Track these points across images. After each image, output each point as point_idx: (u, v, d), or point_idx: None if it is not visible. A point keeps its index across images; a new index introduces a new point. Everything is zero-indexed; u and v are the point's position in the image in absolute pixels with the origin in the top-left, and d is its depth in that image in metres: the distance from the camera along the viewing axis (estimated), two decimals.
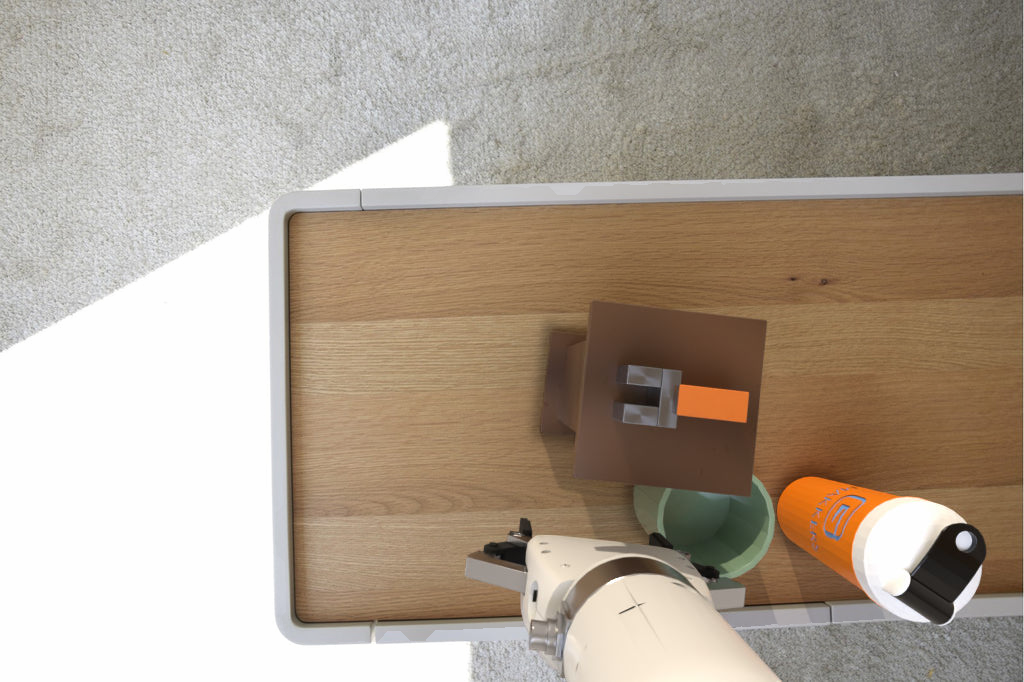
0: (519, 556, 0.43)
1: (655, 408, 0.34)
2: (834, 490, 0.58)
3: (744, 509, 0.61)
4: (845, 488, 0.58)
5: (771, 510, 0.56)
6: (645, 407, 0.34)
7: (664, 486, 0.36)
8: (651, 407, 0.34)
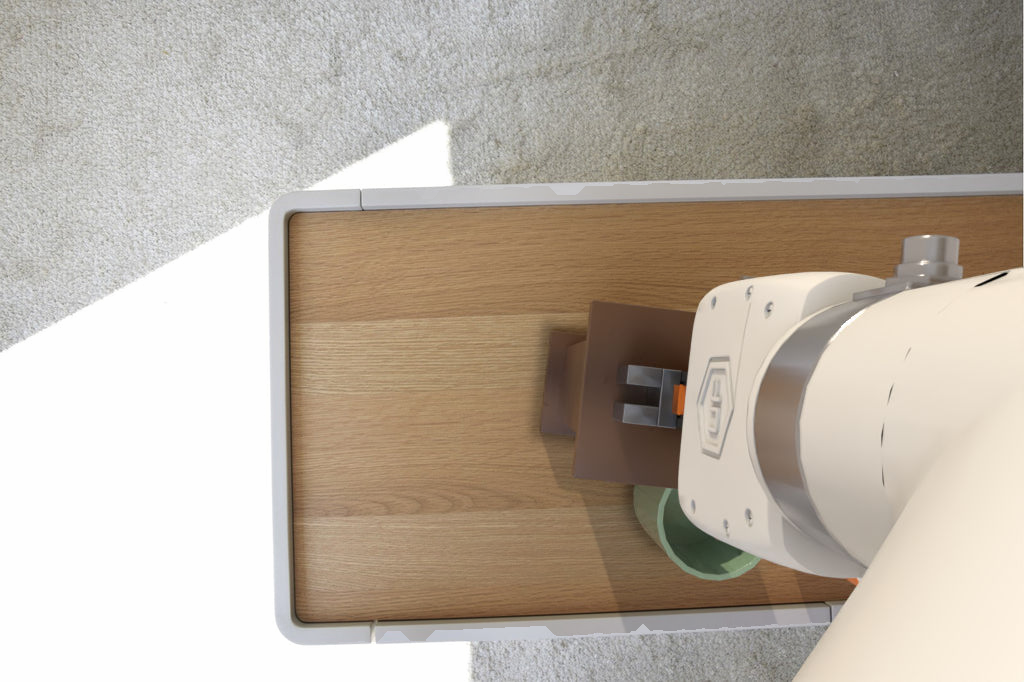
0: None
1: (655, 408, 0.34)
2: None
3: None
4: None
5: None
6: (645, 407, 0.34)
7: (664, 486, 0.36)
8: (651, 407, 0.34)
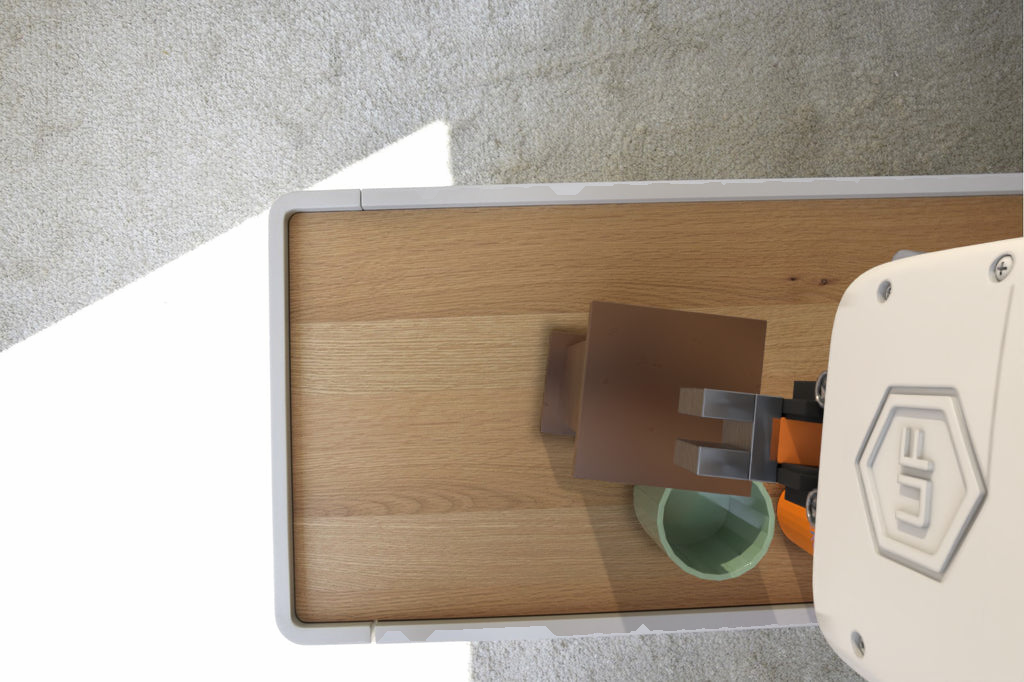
0: None
1: (745, 453, 0.23)
2: None
3: (744, 509, 0.61)
4: None
5: (771, 510, 0.56)
6: (730, 452, 0.23)
7: (664, 486, 0.36)
8: (739, 451, 0.23)
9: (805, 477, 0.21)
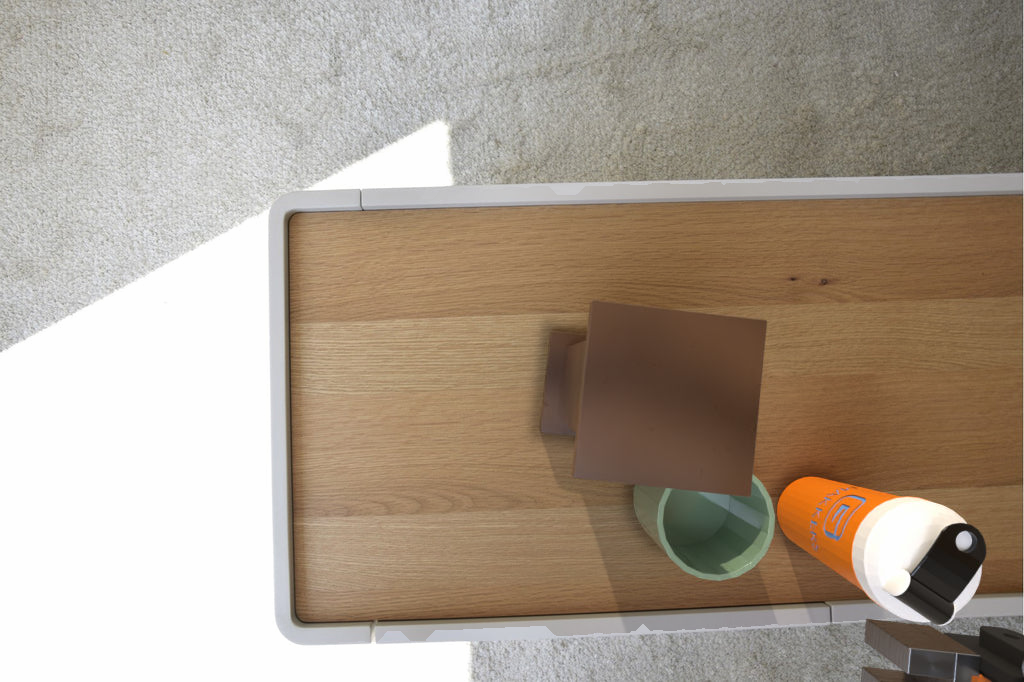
0: None
1: None
2: (834, 490, 0.58)
3: (744, 509, 0.61)
4: (845, 488, 0.58)
5: (771, 510, 0.56)
6: None
7: (664, 486, 0.36)
8: None
9: None
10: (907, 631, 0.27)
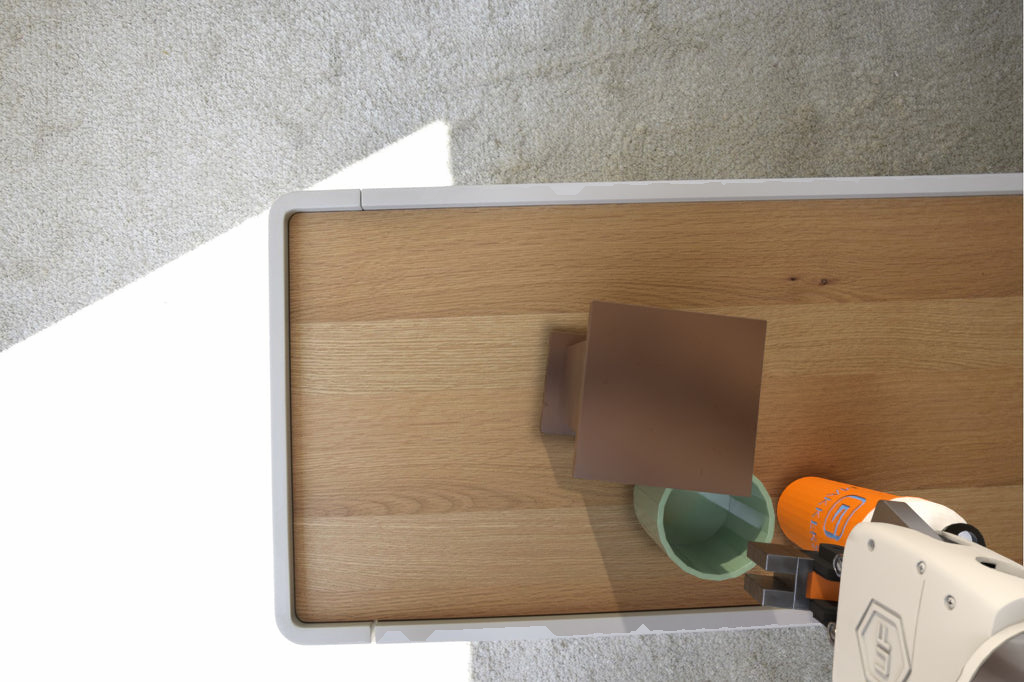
0: None
1: (791, 593, 0.38)
2: (834, 490, 0.58)
3: (744, 509, 0.61)
4: (845, 488, 0.58)
5: (771, 510, 0.56)
6: (782, 592, 0.38)
7: (664, 486, 0.36)
8: (787, 592, 0.38)
9: (827, 613, 0.36)
10: (772, 547, 0.40)
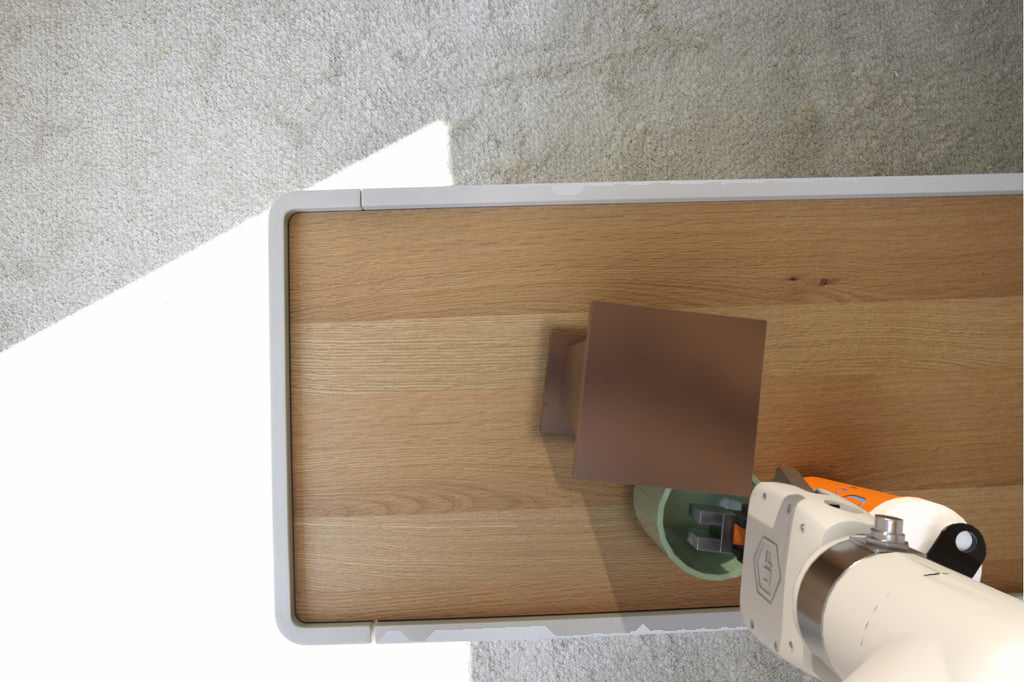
0: None
1: (718, 540, 0.50)
2: (834, 490, 0.58)
3: None
4: (845, 488, 0.58)
5: None
6: (711, 539, 0.50)
7: (664, 486, 0.36)
8: (715, 539, 0.50)
9: (743, 553, 0.49)
10: (706, 507, 0.52)
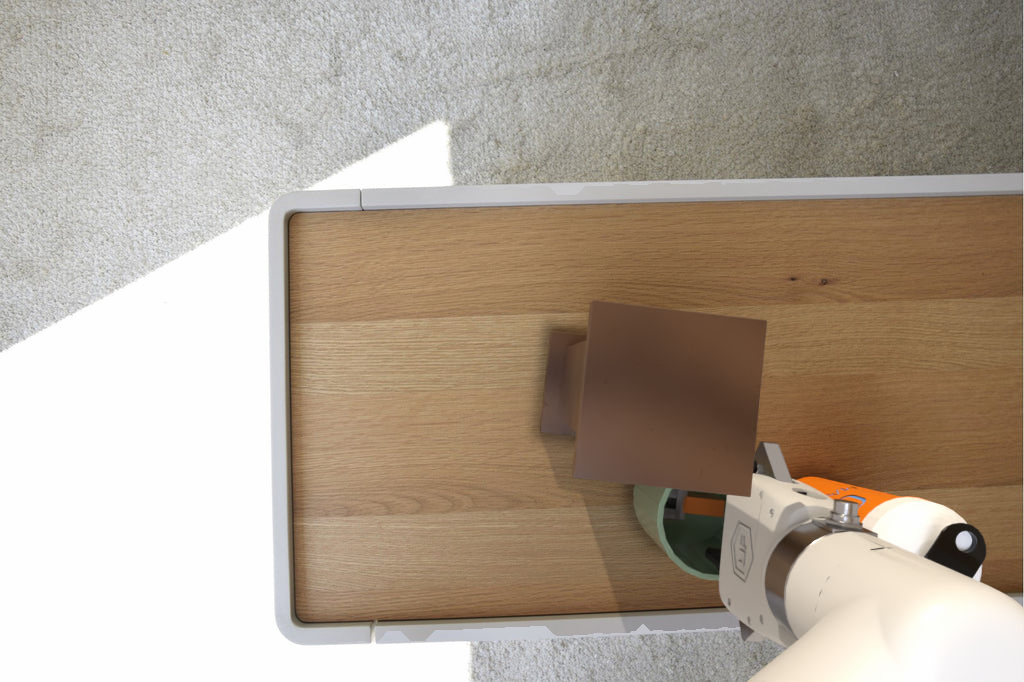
0: None
1: (673, 509, 0.62)
2: (834, 490, 0.58)
3: None
4: (845, 488, 0.58)
5: None
6: (668, 509, 0.62)
7: (664, 486, 0.36)
8: (671, 509, 0.62)
9: None
10: None
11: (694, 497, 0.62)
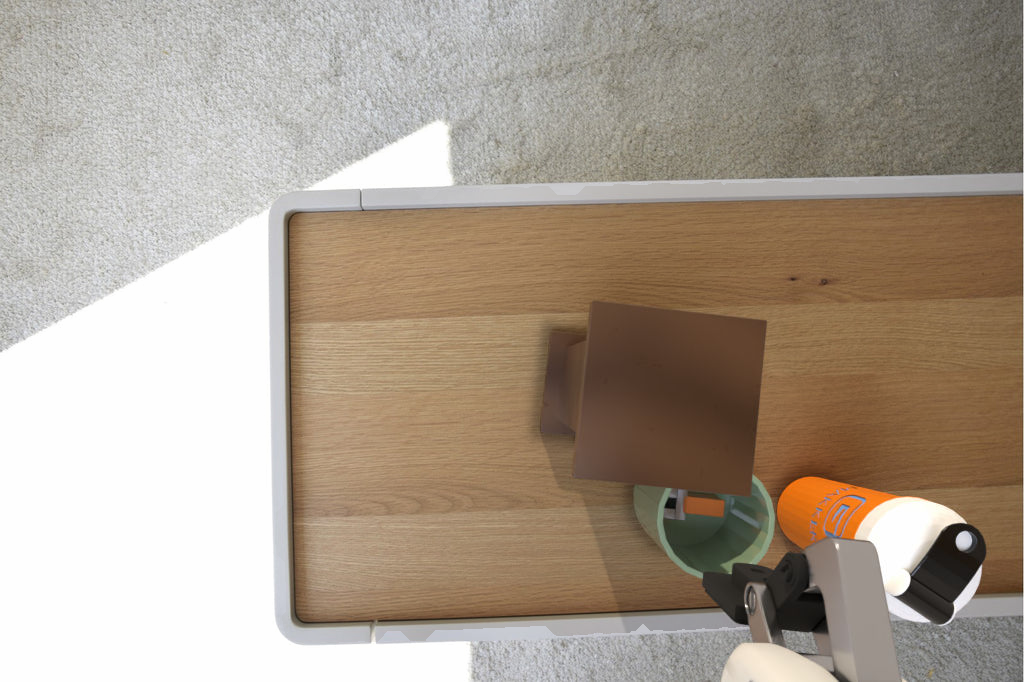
0: (798, 619, 0.22)
1: (673, 509, 0.62)
2: (834, 490, 0.58)
3: (744, 509, 0.61)
4: (845, 488, 0.58)
5: (771, 510, 0.56)
6: (668, 509, 0.62)
7: (664, 486, 0.36)
8: (671, 509, 0.62)
9: None
10: None
11: (694, 497, 0.62)
